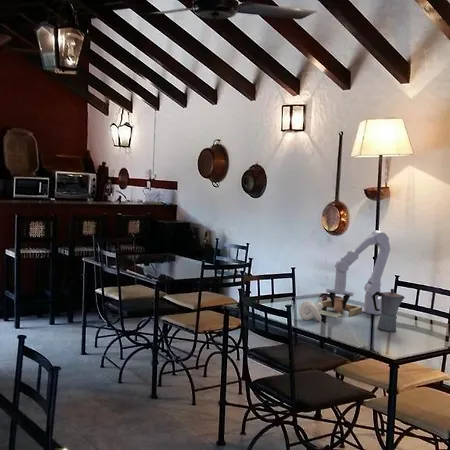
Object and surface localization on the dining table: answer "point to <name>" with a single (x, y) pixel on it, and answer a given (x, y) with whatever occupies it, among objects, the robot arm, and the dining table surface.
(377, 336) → the dining table surface
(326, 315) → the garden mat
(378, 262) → the robot arm
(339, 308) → the terracotta pot
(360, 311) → the tan wooden bent bar
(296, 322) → the dining table surface
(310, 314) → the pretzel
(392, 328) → the moka pot
